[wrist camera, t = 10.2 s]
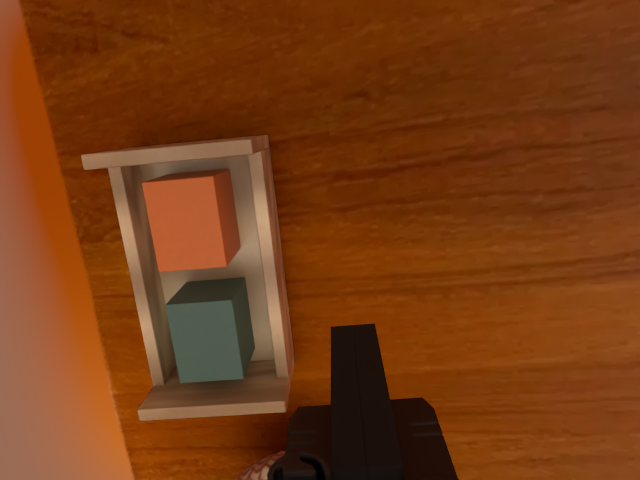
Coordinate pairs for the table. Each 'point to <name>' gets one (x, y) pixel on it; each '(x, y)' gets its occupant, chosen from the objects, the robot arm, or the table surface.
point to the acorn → (260, 468)
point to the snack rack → (205, 274)
